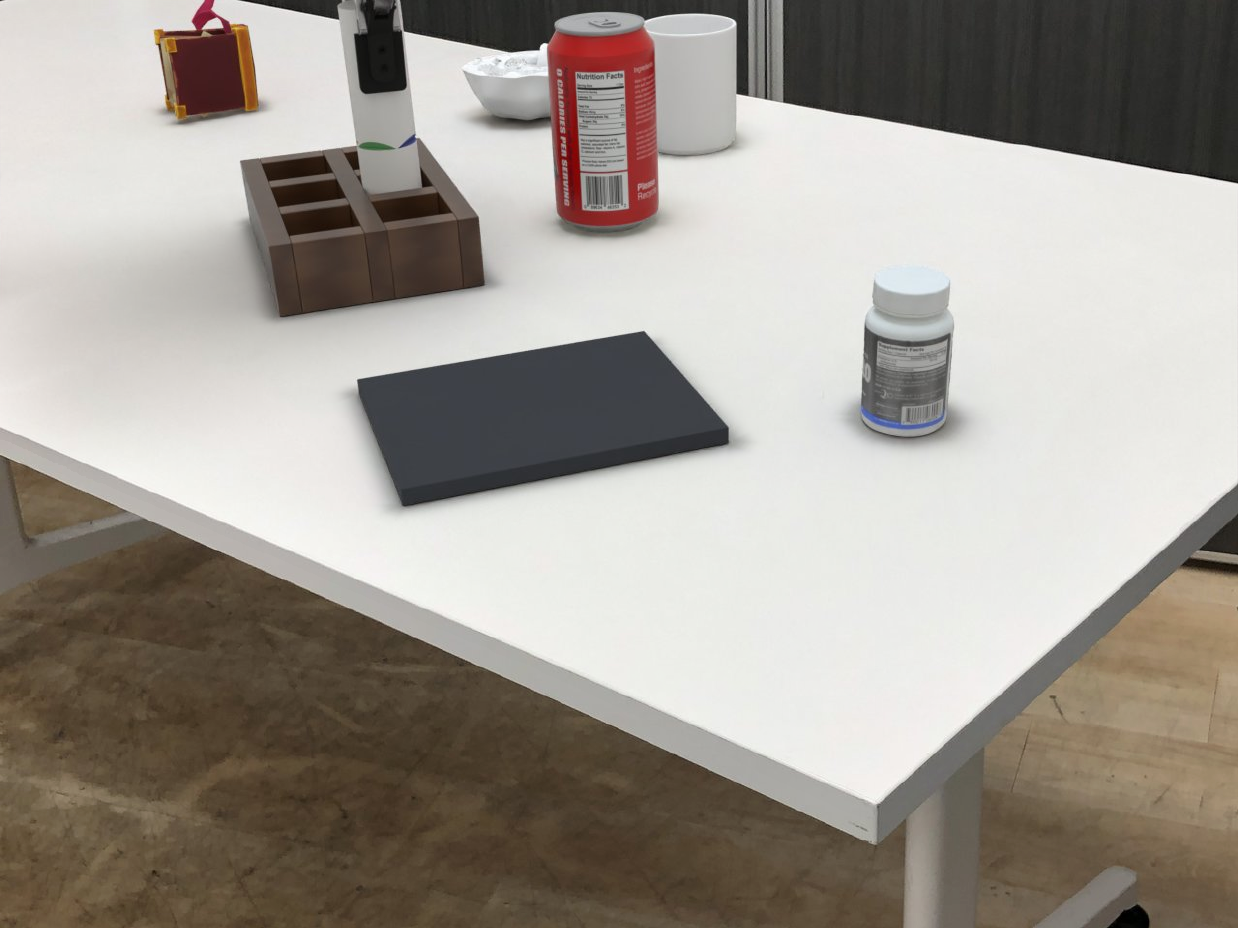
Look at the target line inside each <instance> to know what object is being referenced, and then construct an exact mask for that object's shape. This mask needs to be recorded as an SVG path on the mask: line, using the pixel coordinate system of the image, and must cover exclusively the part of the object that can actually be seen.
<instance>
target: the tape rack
mask: <svg viewBox="0 0 1238 928" xmlns="http://www.w3.org/2000/svg"><path fill="white" fill-rule="evenodd" d="M416 140H417V149H418V157H419V165H420V174H421V182H422V188H417V189H409V190H402V191H395V192H387V193H380V194H373V195H368V196H367V194H366V192H365V190H364V189H363V187H362V180H361V173H360V166H359V159H358V152H357V145H351V146H343V147H342V146H341V147H335V148H327V149H320V150H319V149H318V150H313V151H305V152H296V153H290V154H289V153H288V154H282V155H281V154H279V155H272V156H265V157H260V158H259V157H257V158H249V159H248V158H247V159H241V160H239V164H240V170H241V176H242V182H243V189H244V193H245V194H244V195H245V200H246V205H247V206H246V207H247V211H248V218H249V223H250V226H251V229H252V232H253V236H254V239H255V241H256V246H257V248H258V251H259V254H260V257H261V261H262V264H263V267H264V271H265V273H266V276H267V281H268V283H269V286H270V289H271V292H272V296H273V299H274V302H275V306H276V308H277V311H278V315H279V317H286V316H294V315H299V314H306V313H312V312H317V311H325V310H331V309H339V308H344V307H351V306H356V305H364V304H369V303H373V302H374V303H377V302H382V301H390V300H395V299H403V298H408V297H416V296H421V295H428V294H429V295H430V294H436V293H441V292H448V291H455V290H460V289H467V288H474V287H479V286H484V285H486V283H485V270H484V262H483V260H484V259H483V247H482V237H481V226H480V217H479V215H478V214H477V213H476V211H475V210H474V208H473V207H472V206H471V205H470V203H469V202H468V200H467V198H465V196H464V195H463V194H462V192H461V191H460V190H459V188H458V187H457V186H456V184H455V183H454V181H452V179H451V178H450V176H449V175H448V174H447V172H446V171H445V169H444V168H443V167H442V166H441V164H440V163H439V162H438V160H437V159H436V158H435V156H434V155H433V153H432V152H431V151H430V149H429V148H428V147H427V146H426V144H425V143H424V142H423V140H422V139H421V138H420V137H416Z"/></svg>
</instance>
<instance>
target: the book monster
mask: <svg viewBox="0 0 1238 928" xmlns="http://www.w3.org/2000/svg"><path fill="white" fill-rule="evenodd" d="M214 4H215V0H204V1H203V2H202V4H201V5H200V6H199V7H198V9H197V10H196V11H195V13H194V15H193V17H192V19H191V21H190V22H191V23H192V25H193V26H194V28H195V29H193V30H191V29H190V30H164V29H163V28H157V29H153V35H154V44H155V46H157V48H158V54H159V59H160V64H161V70H162V76H163V81H164V88H165V94H164V102H165V106H166V110H167V112H170V111H174V113H175V117H176V119H177V120H184V119H185V120H186V119H187V118H188V117H189V116H197V115H201V116H202V118H203V119H204V118H205V117H207V116H208V115H210V114H213V113H222V112H228V111H232V110H240V109H242V110H244V111H246V112H250V111H255V110H259V96H258V84H257V74H256V65H255V59H254V53H253V48H252V41H251V36H250V30H249V25H247V24H244V23H230V21H229V20H227V19H225V18H224V17H222V16H220V15H219V14H217V13H216V12H215V11H214V10H212V9H213V8H214ZM216 18H217V19H218V20H219V21H220V23H221V25H222V27H215V28H204V27H205V26H206V24H207V23H208V22H209V21H212V20H214V19H216ZM203 28H204V29H203Z"/></svg>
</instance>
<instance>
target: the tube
mask: <svg viewBox="0 0 1238 928" xmlns="http://www.w3.org/2000/svg"><path fill="white" fill-rule="evenodd" d="M364 2H366V0H364ZM397 3H398V11H399V19H400V29H401V30H402V36H403V47H404V57H405V68H406V79H407V87H406V89H405V90H403V91H394V92H384V93H374V94H364V93H362V91H361V90H360V87H359V78H358V69H357V60H356V51H355V41H354V34H355V33H358V28H357V21H356V13H355V6H354V0H349V1H345V2H342V1H341V2H340V3H338V4H337V12H338V14H337V15H338V19H339V20H338V21H339V27H340V35H341V41H342V48H343V49H342V51H343V56H344V65H345V71H346V79H347V86H348V93H349V100H350V108H351V115H352V121H353V128H354V134H355V135H354V136H355V143H356V146H357V152H358V159H359V166H360V173H361V180H362V187H363V189H364V190H365V192H366V194H367V196H368V195H373V194H380V193H387V192H395V191H402V190H409V189H417V188H422V182H421V174H420V165H419V157H418V149H417V140H416V138H417V137H416V136H417V134H416V133H417V132H416V125H415V124H416V123H415V116H414V109H413V108H414V107H413V98H412V89H411V81H410V73H409V72H410V71H409V65H408V55H407V47H406V37H405V30H404V21H403V13H402V12H403V11H402V5H401V0H397Z"/></svg>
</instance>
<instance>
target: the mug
mask: <svg viewBox="0 0 1238 928" xmlns="http://www.w3.org/2000/svg"><path fill="white" fill-rule="evenodd" d="M644 28H645V29H646V31H647V32H648V34H649V35H650V37H651V38H652V39H653V41H654V44H655V71H656V110H657V149H658V153H662V154H665V155H666V154H667V155H675V156H698V155H699V156H700V155H705V154H706V155H707V154H711V153H716V152H719V151H722V150H725V149H727V148H728V147H730V146H731V145H732V144H733V143H734V140H735V139H736V134H737V21H736V20H735V19H733V18H730V17H727V16H723V15H717V14H710V13H679V14H668V15H663V16H662V15H661V16H657V17H653V18H650V19H649V18H648V19H646V20H645V24H644Z"/></svg>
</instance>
